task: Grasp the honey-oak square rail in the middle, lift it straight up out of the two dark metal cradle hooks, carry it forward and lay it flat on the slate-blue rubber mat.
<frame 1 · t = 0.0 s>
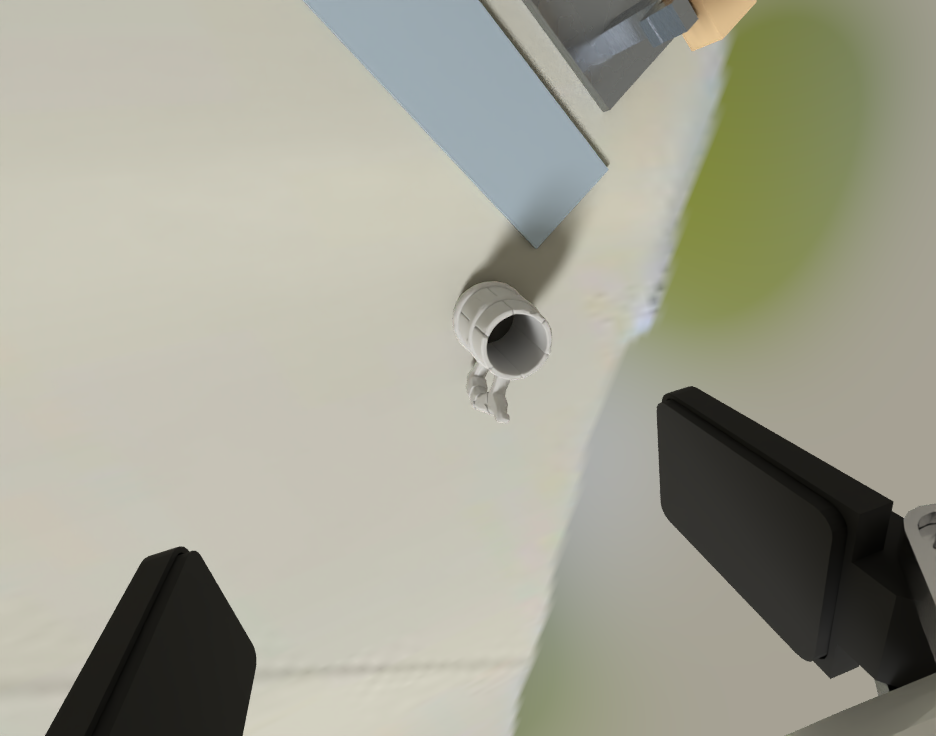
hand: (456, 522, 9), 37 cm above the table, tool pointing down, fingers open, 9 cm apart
mug: (480, 333, 48), on the table
slate mat: (469, 91, 40), on the table
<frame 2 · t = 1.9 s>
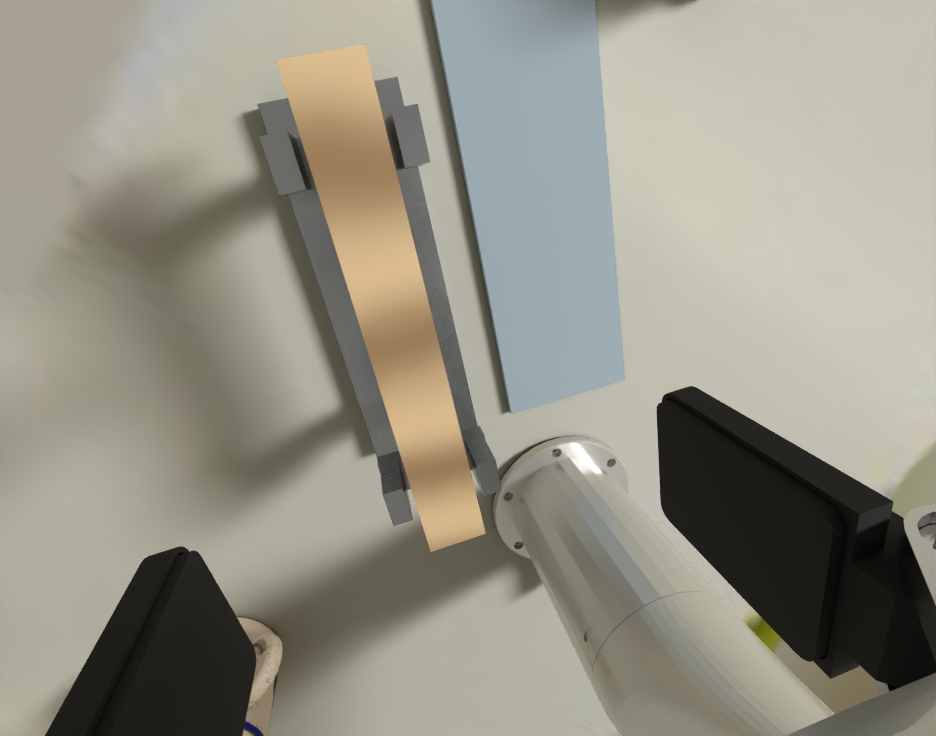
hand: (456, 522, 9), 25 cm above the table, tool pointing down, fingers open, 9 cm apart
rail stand: (385, 290, 32), on the table
teacup with lid: (239, 639, 40), on the table
slate mat: (542, 220, 33), on the table
oak rail: (401, 340, 21), point 12 cm above the table, touching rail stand
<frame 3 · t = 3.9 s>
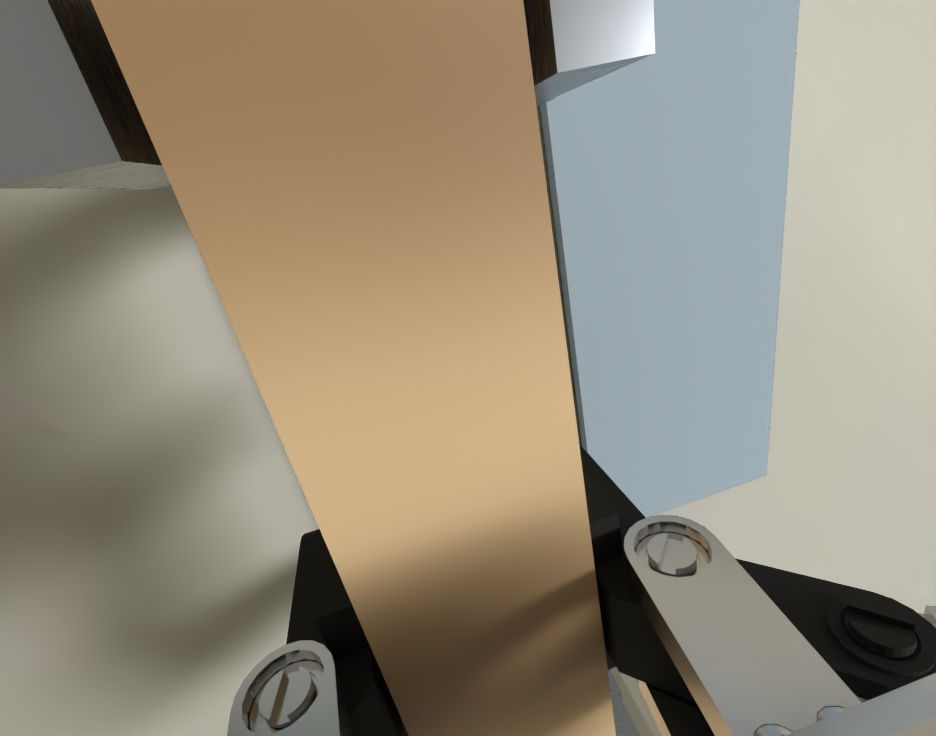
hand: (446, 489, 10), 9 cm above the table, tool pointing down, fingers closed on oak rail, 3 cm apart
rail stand: (403, 355, 19), on the table
slate mat: (670, 234, 19), on the table
oak rail: (477, 587, 8), point 12 cm above the table, touching gripper, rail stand
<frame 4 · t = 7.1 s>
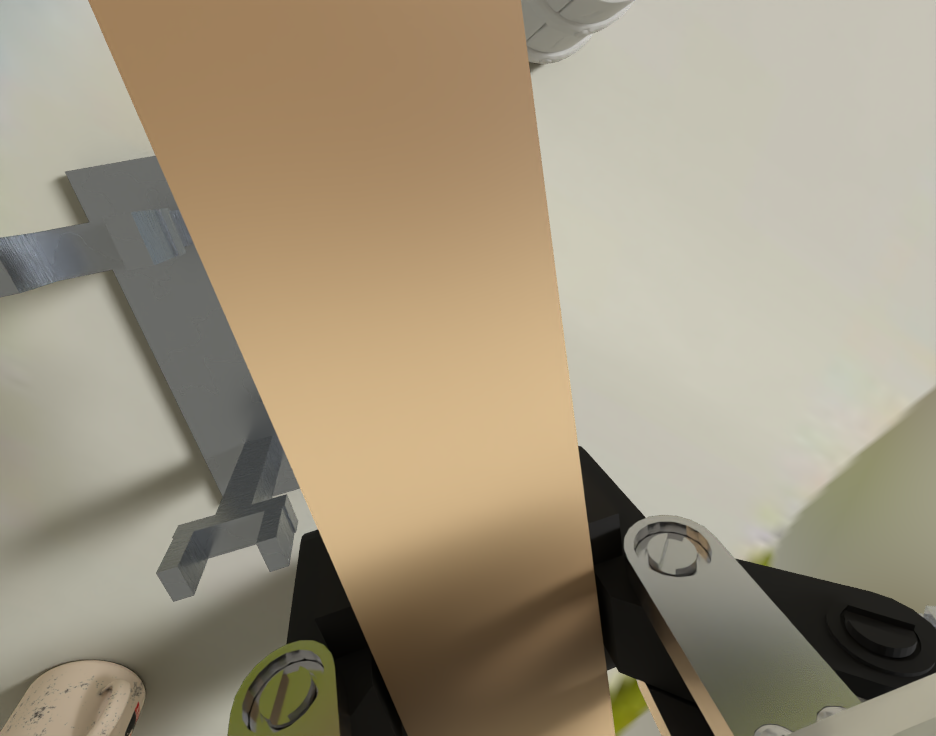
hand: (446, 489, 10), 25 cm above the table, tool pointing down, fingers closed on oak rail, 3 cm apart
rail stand: (226, 345, 32), on the table
teacup with lid: (101, 681, 40), on the table
oak rail: (475, 585, 8), point 28 cm above the table, touching gripper
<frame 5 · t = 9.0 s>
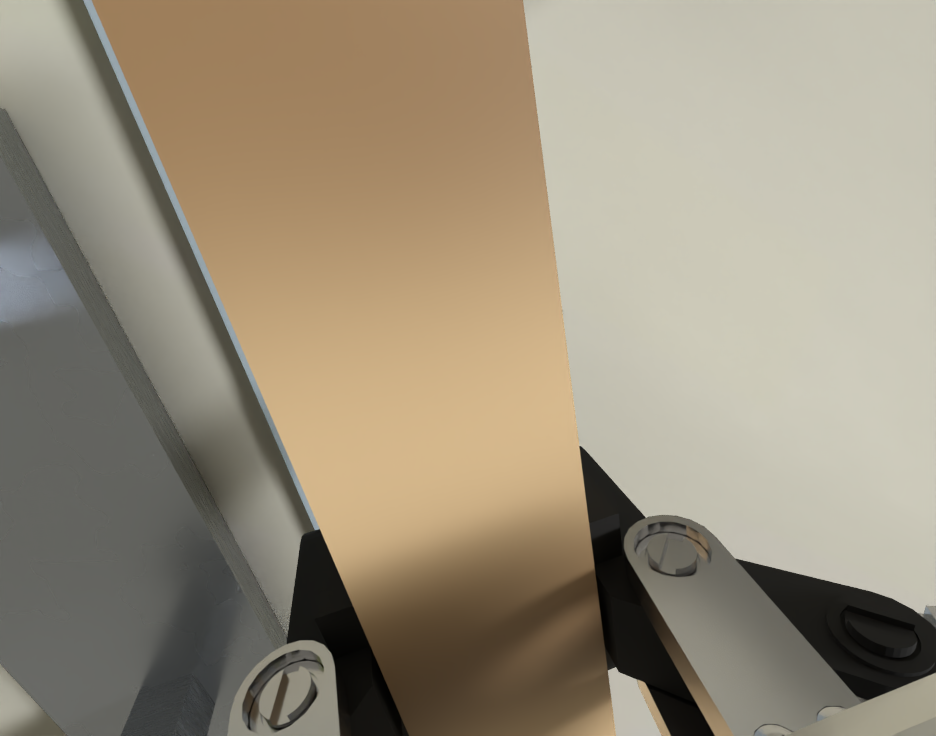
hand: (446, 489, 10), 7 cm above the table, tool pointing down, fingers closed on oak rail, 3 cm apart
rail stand: (86, 520, 16), on the table
slate mat: (408, 373, 17), on the table
oak rail: (476, 583, 8), point 10 cm above the table, touching gripper
when the fingers open (2 cm above the table, at t = 10.5 s): oak rail drops 2 cm, resting on slate mat.
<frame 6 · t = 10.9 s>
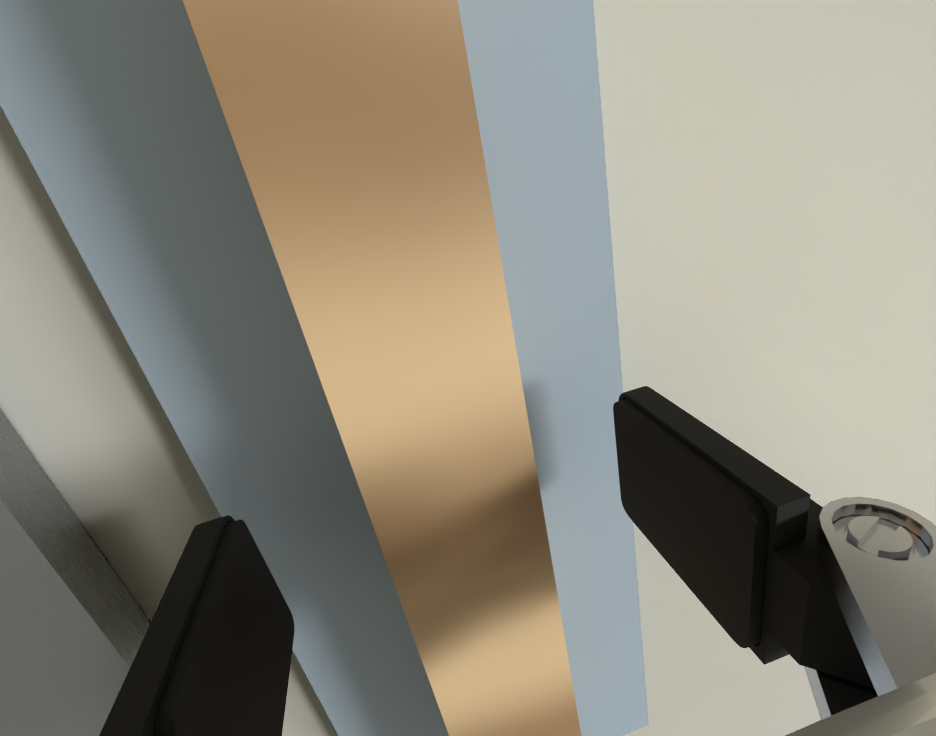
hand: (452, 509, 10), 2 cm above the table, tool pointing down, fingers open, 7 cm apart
slate mat: (433, 450, 12), on the table
oak rail: (453, 498, 10), point 2 cm above the table, touching slate mat
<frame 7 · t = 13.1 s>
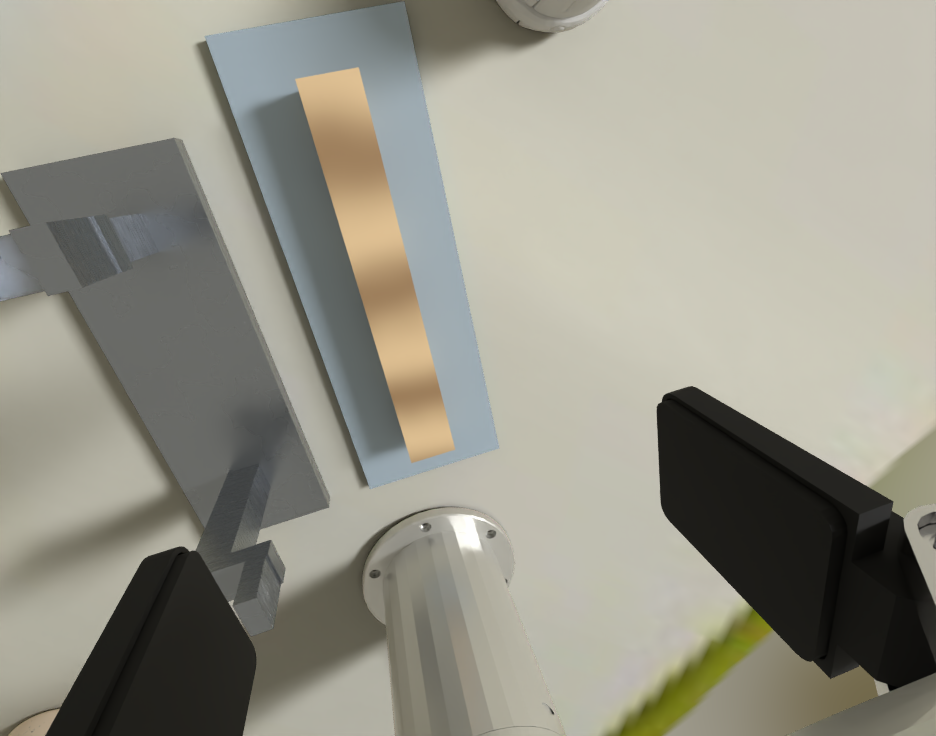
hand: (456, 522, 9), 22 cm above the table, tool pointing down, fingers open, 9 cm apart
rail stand: (202, 365, 29), on the table
teacup with lid: (86, 728, 37), on the table
slate mat: (383, 285, 29), on the table
oak rail: (387, 291, 28), point 2 cm above the table, touching slate mat
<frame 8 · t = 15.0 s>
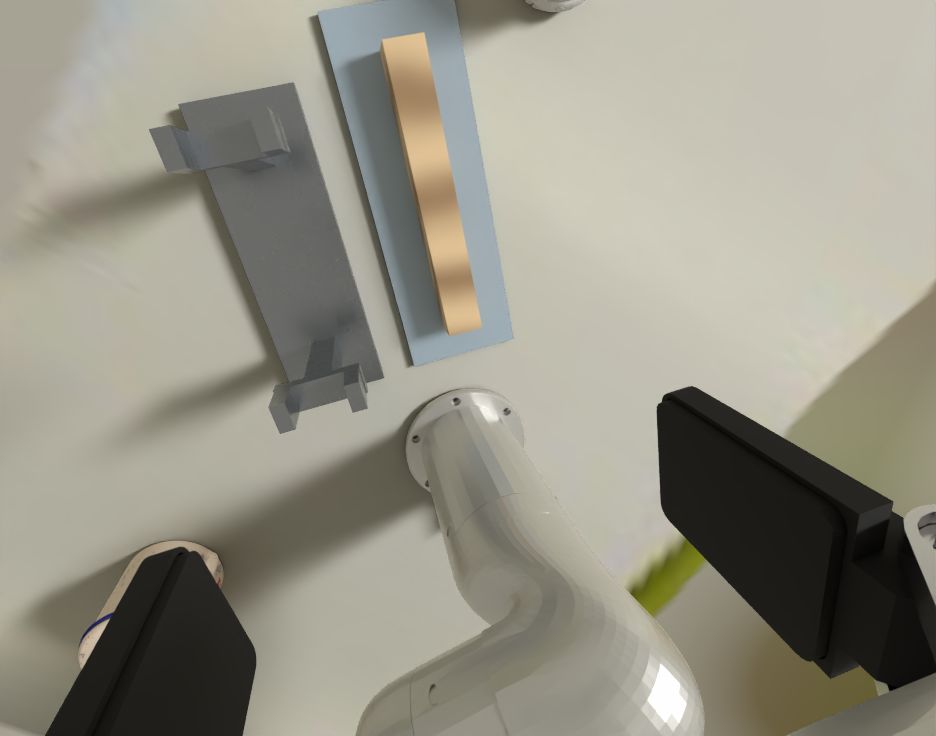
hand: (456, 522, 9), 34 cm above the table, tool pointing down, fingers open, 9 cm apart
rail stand: (297, 258, 39), on the table
teacup with lid: (187, 562, 47), on the table
slate mat: (430, 201, 40), on the table
oak rail: (435, 201, 38), point 2 cm above the table, touching slate mat
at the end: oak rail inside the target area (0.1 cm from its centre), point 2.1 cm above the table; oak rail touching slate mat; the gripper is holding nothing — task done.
